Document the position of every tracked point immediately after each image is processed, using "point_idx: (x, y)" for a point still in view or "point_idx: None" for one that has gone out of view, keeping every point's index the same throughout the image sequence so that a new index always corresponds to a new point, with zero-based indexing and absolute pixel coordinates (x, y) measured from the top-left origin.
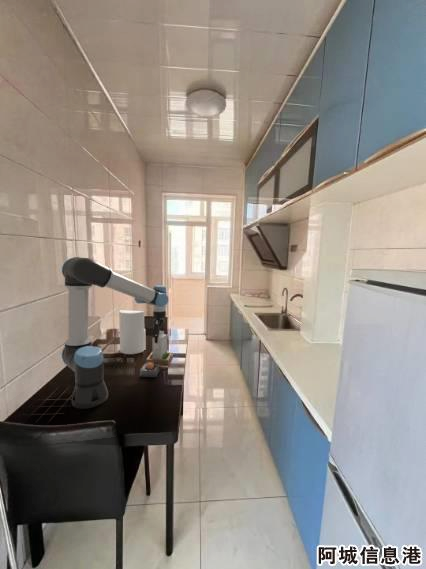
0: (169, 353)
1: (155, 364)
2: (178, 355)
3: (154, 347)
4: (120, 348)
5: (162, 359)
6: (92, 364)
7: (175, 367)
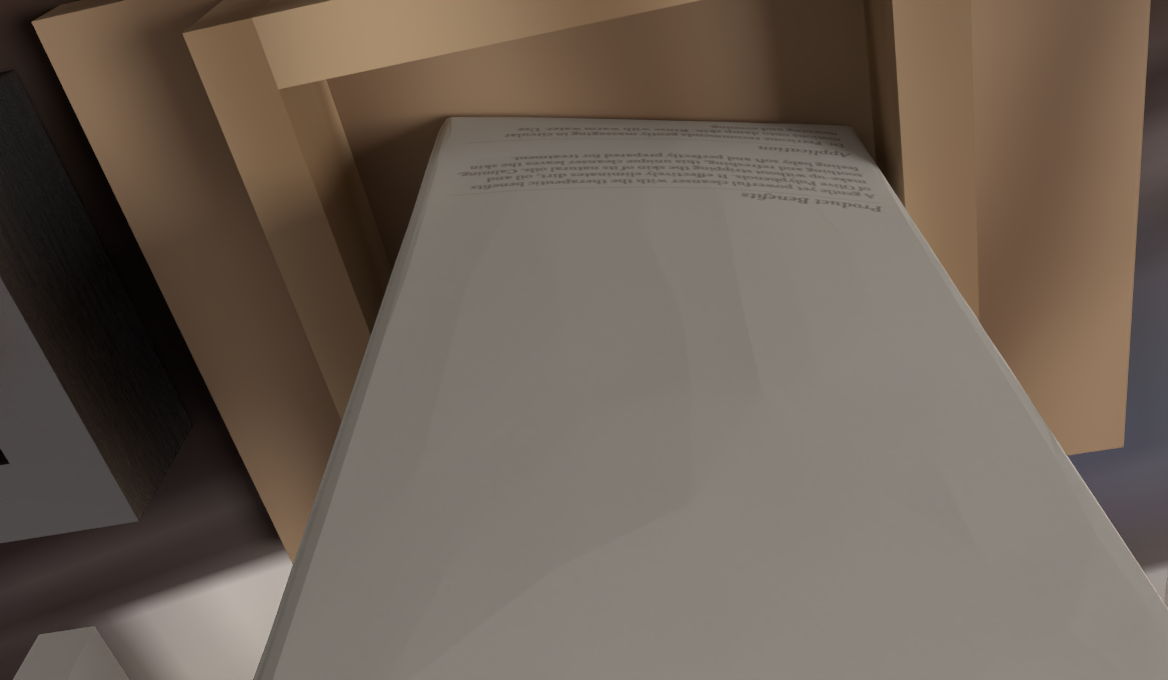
0: None
1: (53, 436)
2: (1136, 507)
3: (37, 668)
4: None
5: None
6: None
7: None
